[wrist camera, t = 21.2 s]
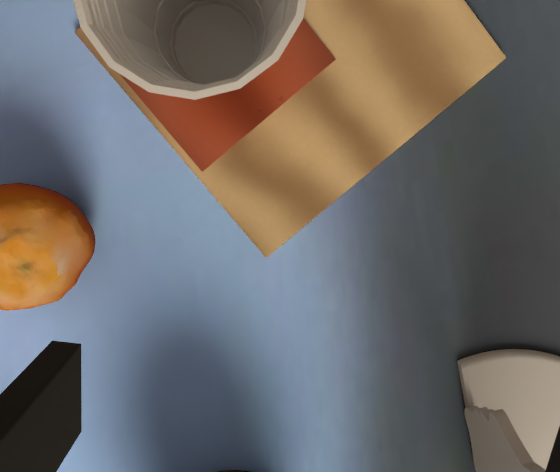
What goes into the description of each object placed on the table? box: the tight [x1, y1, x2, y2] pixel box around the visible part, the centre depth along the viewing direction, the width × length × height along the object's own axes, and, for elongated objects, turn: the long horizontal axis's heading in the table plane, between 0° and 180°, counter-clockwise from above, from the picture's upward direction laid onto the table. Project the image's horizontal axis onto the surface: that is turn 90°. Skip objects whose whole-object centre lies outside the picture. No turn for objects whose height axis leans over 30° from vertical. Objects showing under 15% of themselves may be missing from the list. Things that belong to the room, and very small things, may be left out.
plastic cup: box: [73, 0, 306, 100], centre depth 27 cm, size 11×11×12 cm
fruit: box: [0, 183, 95, 310], centre depth 32 cm, size 8×8×8 cm
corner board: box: [75, 0, 506, 258], centre depth 34 cm, size 22×20×1 cm
